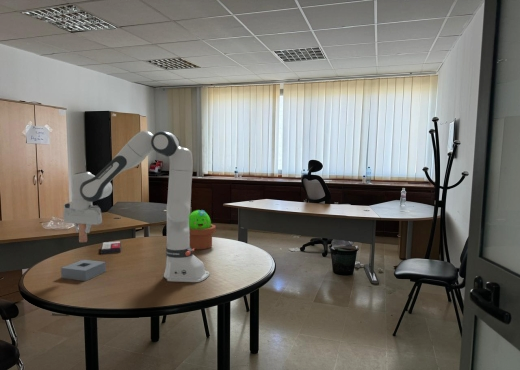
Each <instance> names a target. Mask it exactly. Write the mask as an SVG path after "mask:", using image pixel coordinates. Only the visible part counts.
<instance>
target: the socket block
mask: <svg viewBox="0 0 520 370" xmlns="http://www.w3.org/2000/svg"><path fill="white" fill-rule="evenodd" d="M60 270H61V271H60V273H61V279H67V280H76V281H84V282H86V281H88V280H90V279H93V278H95V277H98V276H99V275H102V274H104V273H106V272H107V262H106V261H99V260H89V259H81V260H78V261H76V262H72V263H70V264H67V265H65V266H62V267H60Z"/></svg>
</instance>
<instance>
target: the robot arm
mask: <svg viewBox="0 0 520 370" xmlns="http://www.w3.org/2000/svg"><path fill="white" fill-rule="evenodd" d="M152 152H155V153H157V154H160V155H163V156H165V157H168V158H169V172H168V173H169V174H168V187H167V189H168V190H167V203H166V248H165V257H166V263H165V270H164V273H163V277H164V278H165V279H166V281H167V282H181V283H183V282H184V283H200V282H203V281H204V280H206V279H207V278H208V277H209V276H210V271H208V270H206V268H205V264H204V262H203V260H200V258H198V257H197V256H196V255H194V254H193V253H194V251H195V249H191V247H190V235H189V215H190V213H191V207H192V203H191V202H192V201H191V200H192V183H193V182H192V181H193V169H194V165H193V164H194V162H193V152H192V151H191V150H190V149H189V148H186V147H183V146H181V141H180V139H179V138H178V137H177V136H176V135H174V134H173V133H172V132H168V131H166V130H165V131H164V130H163V131H162V130H161V131H157V132H155V133H154V134H153V133H152V132H150V131H149V130H145V129H144V130H140V131H139V132H138V133H137V134H135V135H134V136H132V138H130V140H128V141H127V142H126V144H124V146H123V147H122V148H121V149H120V150H119V151H118V153H117V154H115V156H114V157H113V158H112V159H111V160H110V162H108V163H107V164H106V165H105V166H104V167H103V168H102V169H101V170H100V171H99V172H98V173H97V174H96V175H94V174H92V172H90V171H81V172H76V173H75V174H73V175H72V178H71V192H72V197H71V201H69V202H66V203H63V205H62V207H63V208H64V209H63V212H62V216H63V217H62V219H63V222H64V223H66V224H67V223H68V224H73V225H74V228H75V230H76V233H79V223H81V224H86V226H87V228H86V229H85V233H87V234H89V233H90V232H91V231H90V230H91V227H92V226H93V225H94V226H98V225H102V223H103V217H102V216H103V215H102V210H101V208H100V206H99V205H94V204H93V202H96V201H98V200H102V199H104V198H106V197H109V196H110V195H111V194H112V192H113V188H114V187H113V184H112V182H111V181H112V180H113V179H114V178H116V176H118V175H119V174H121V173H122V172H125V171H127V170H130V169H133V168H135V167H137V166H138V165H139V164H141V163H142V162H143V161H144V160H145V159H146V158H147V157H148V156H149V155H150V154H151V153H152Z"/></svg>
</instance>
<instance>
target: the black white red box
mask: <svg viewBox="0 0 520 370" xmlns="http://www.w3.org/2000/svg"><path fill="white" fill-rule="evenodd" d="M121 249H122V242H121V241H120V240H119V241H108V242H106V241H105V242H102V244H101V247H100V254H101V255H106V254H119V253H121V251H122V250H121Z"/></svg>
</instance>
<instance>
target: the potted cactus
mask: <svg viewBox="0 0 520 370" xmlns="http://www.w3.org/2000/svg"><path fill="white" fill-rule="evenodd" d="M215 233H216V225H215V224H212V220H211V218H210V215H208V213H207V212H206V211H205V210H203V209H201V210H200V209H196V210H193V211H192V212H190V215H189V235H190V247H191V249H194V251H195V250H206V249H210V248H212V246H213V235H214V234H215Z"/></svg>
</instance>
